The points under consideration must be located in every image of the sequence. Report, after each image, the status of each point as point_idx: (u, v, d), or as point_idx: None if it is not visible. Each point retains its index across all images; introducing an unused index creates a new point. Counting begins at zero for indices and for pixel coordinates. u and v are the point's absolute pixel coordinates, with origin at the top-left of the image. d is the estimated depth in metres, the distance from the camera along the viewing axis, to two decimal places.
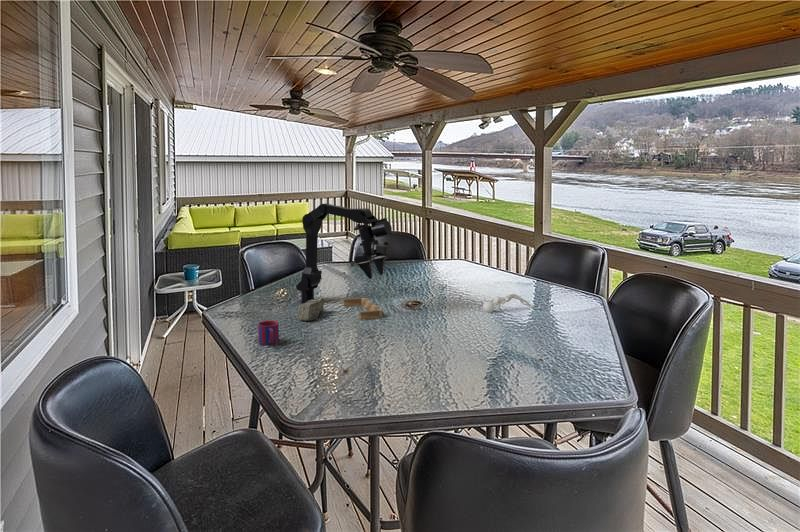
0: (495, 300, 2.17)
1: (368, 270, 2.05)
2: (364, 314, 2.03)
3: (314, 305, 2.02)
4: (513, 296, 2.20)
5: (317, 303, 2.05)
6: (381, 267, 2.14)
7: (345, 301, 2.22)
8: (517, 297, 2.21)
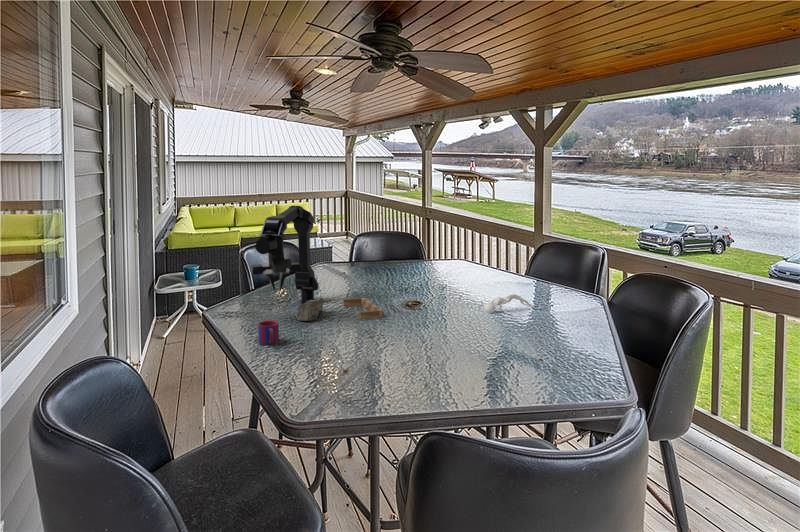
0: (496, 301, 2.16)
1: (270, 282, 1.97)
2: (364, 314, 2.03)
3: (313, 305, 2.02)
4: (514, 296, 2.20)
5: (316, 303, 2.04)
6: (280, 282, 1.99)
7: (345, 301, 2.22)
8: (518, 297, 2.20)
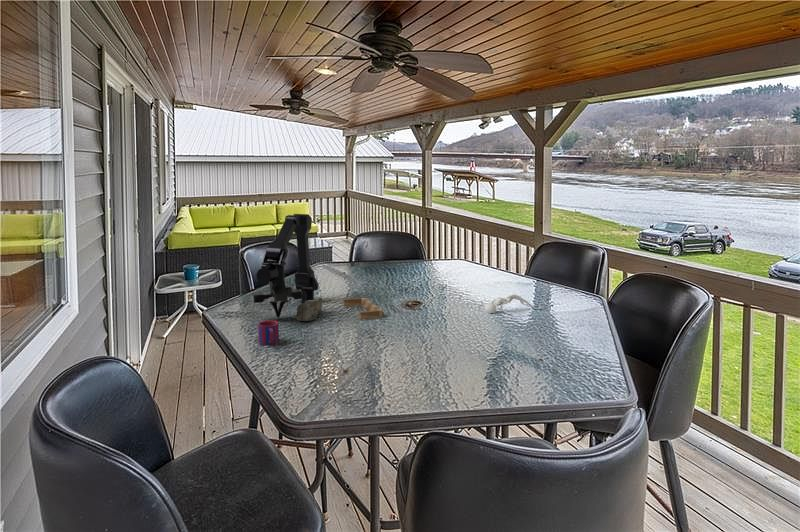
0: (497, 301, 2.16)
1: (274, 309, 2.00)
2: (364, 314, 2.03)
3: (313, 305, 2.02)
4: (514, 297, 2.19)
5: (315, 303, 2.04)
6: (278, 310, 2.00)
7: (345, 301, 2.22)
8: (518, 298, 2.20)
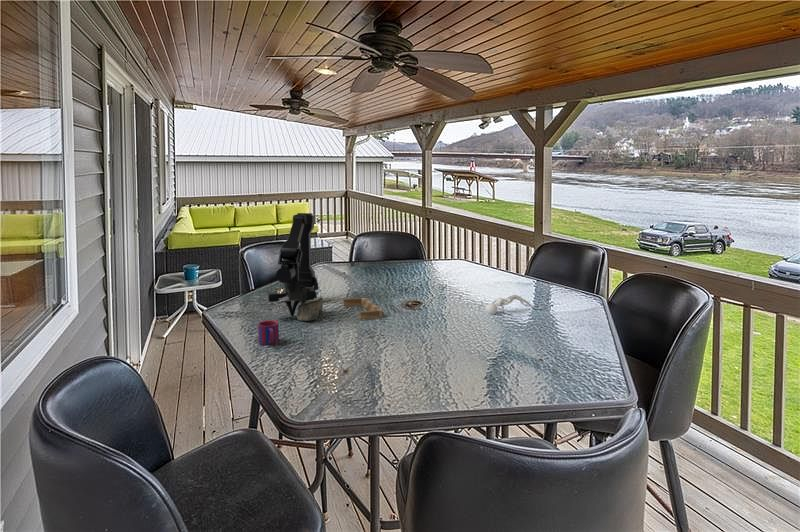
0: (498, 301, 2.15)
1: (288, 308, 2.02)
2: (364, 314, 2.03)
3: (314, 305, 2.02)
4: (515, 297, 2.19)
5: (316, 303, 2.04)
6: (292, 309, 2.03)
7: (345, 301, 2.22)
8: (519, 298, 2.19)
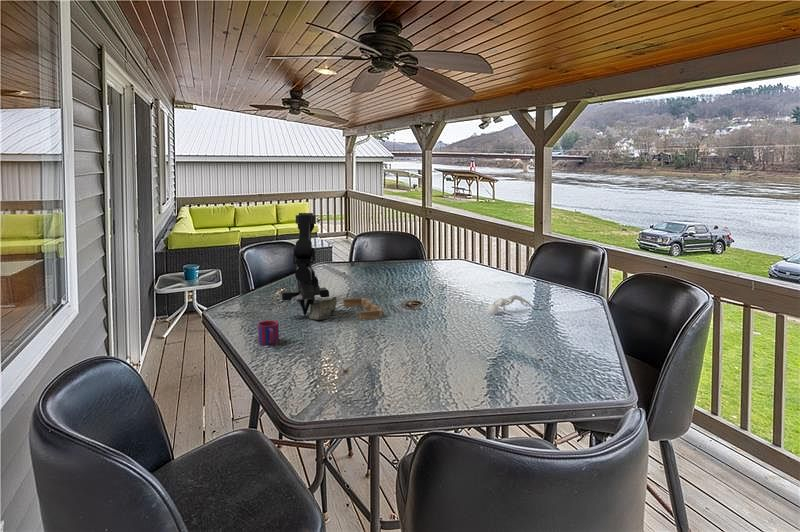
0: (499, 302, 2.14)
1: (301, 306, 2.04)
2: (364, 314, 2.03)
3: (325, 304, 2.03)
4: (516, 297, 2.18)
5: (329, 302, 2.06)
6: (305, 307, 2.04)
7: (345, 301, 2.22)
8: (519, 298, 2.19)
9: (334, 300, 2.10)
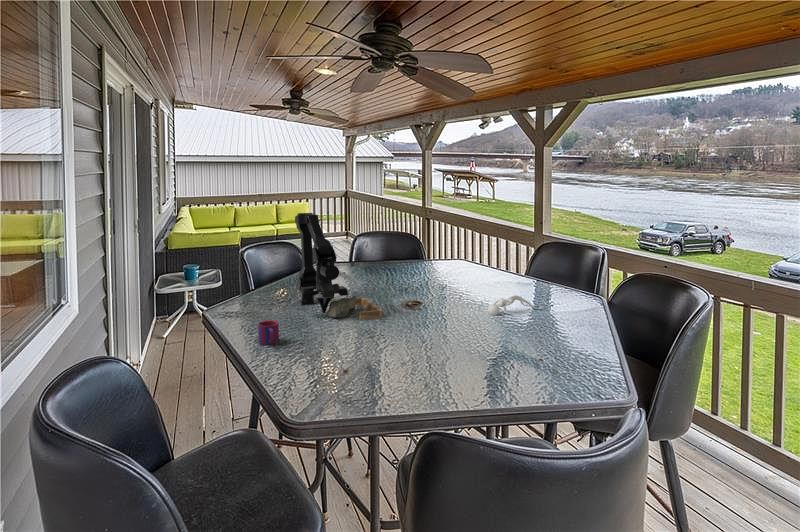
0: (500, 302, 2.14)
1: (320, 305, 2.07)
2: (364, 314, 2.03)
3: (343, 303, 2.06)
4: (516, 297, 2.18)
5: (347, 301, 2.08)
6: (324, 306, 2.08)
7: None
8: (520, 298, 2.18)
9: (354, 299, 2.12)
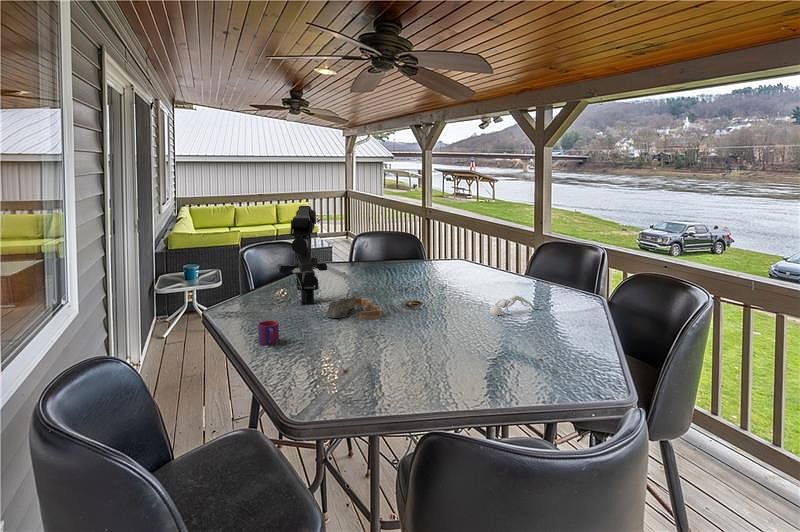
0: (502, 303, 2.13)
1: (299, 280, 2.02)
2: (364, 314, 2.03)
3: (343, 303, 2.06)
4: (517, 298, 2.17)
5: (346, 301, 2.08)
6: (303, 281, 2.02)
7: None
8: (521, 299, 2.18)
9: (353, 299, 2.12)
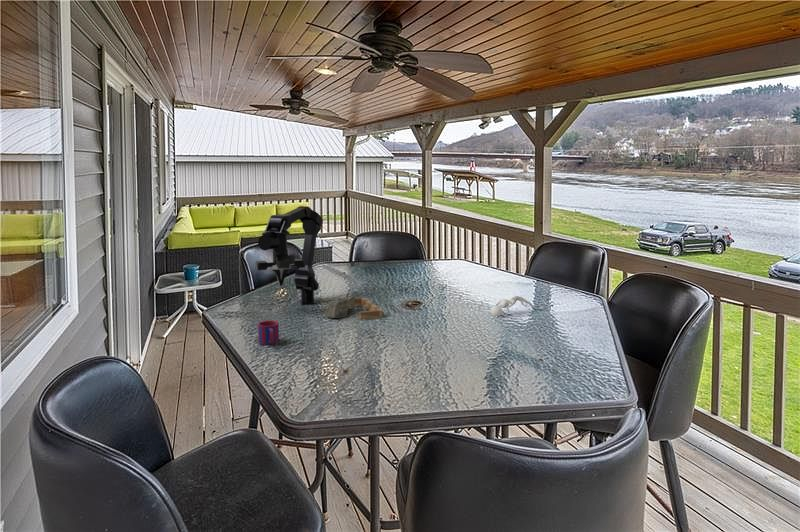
0: (502, 303, 2.12)
1: (277, 277, 2.06)
2: (364, 314, 2.03)
3: (342, 303, 2.06)
4: (518, 298, 2.17)
5: (346, 301, 2.08)
6: (281, 278, 2.07)
7: None
8: (521, 299, 2.17)
9: (352, 299, 2.12)
